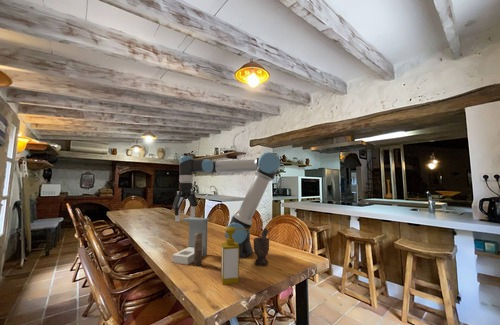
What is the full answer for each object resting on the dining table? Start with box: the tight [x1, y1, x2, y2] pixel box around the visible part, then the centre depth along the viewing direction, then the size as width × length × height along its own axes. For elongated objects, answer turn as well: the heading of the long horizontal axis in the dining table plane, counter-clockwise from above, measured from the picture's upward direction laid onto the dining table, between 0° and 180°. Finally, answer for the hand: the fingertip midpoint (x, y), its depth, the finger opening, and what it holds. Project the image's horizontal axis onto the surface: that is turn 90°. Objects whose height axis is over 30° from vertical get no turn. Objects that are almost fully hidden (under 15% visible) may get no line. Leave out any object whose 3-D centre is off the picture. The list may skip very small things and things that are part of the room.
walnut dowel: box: [193, 233, 203, 267], centre depth 115 cm, size 4×4×16 cm
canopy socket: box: [171, 216, 210, 266], centre depth 125 cm, size 14×18×22 cm
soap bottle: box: [220, 226, 251, 285], centre depth 98 cm, size 7×13×24 cm, turn 102°
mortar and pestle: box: [253, 228, 270, 267], centre depth 115 cm, size 12×9×20 cm
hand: (185, 219), depth 124 cm, fingers open, 13 cm apart
